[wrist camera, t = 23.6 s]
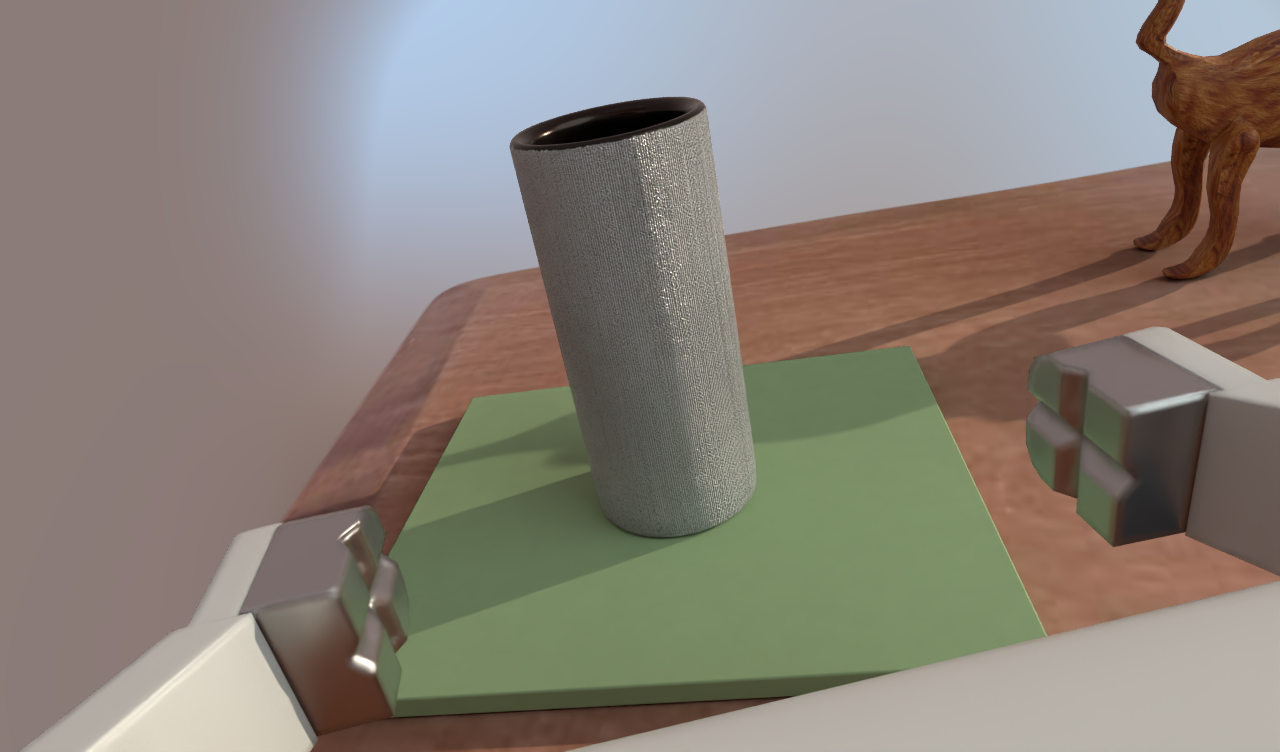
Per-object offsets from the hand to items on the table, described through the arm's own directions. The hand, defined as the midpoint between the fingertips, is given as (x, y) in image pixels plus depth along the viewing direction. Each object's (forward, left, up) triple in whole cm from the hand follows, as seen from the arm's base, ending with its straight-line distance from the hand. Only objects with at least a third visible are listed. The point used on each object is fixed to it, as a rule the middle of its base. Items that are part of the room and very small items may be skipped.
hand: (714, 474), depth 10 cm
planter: (-2, +11, -8) cm, 13 cm away
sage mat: (-2, +11, -8) cm, 14 cm away
